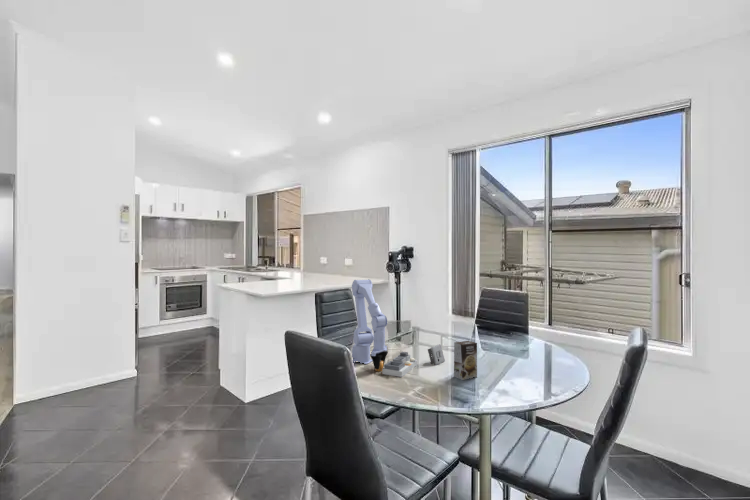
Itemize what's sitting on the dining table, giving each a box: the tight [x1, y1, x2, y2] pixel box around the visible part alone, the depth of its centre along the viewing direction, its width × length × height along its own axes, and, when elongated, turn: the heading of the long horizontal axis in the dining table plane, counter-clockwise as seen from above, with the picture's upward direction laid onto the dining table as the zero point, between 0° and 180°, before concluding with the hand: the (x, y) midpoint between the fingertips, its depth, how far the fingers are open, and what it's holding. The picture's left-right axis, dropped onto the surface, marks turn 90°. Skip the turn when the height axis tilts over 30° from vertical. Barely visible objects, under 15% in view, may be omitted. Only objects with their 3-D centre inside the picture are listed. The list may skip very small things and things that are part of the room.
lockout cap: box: [374, 360, 384, 372], centre depth 182 cm, size 4×4×5 cm
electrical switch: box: [427, 344, 446, 366], centre depth 196 cm, size 9×5×9 cm, turn 141°
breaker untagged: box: [399, 351, 409, 357], centre depth 191 cm, size 3×3×2 cm
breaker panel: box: [381, 354, 418, 378], centre depth 184 cm, size 10×22×5 cm, turn 155°
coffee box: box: [453, 340, 478, 381], centre depth 172 cm, size 9×6×16 cm
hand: (379, 367), depth 182 cm, fingers open, 5 cm apart
